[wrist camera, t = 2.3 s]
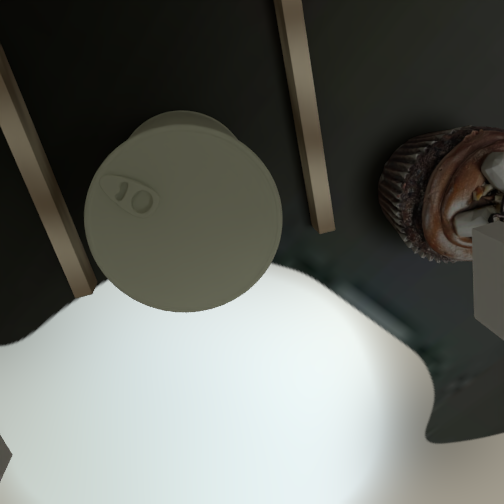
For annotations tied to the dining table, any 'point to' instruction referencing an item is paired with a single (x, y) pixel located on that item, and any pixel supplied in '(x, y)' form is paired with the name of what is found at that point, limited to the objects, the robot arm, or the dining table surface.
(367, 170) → the dining table surface
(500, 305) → the robot arm
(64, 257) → the guide track
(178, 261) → the can
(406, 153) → the cupcake
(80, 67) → the dining table surface
